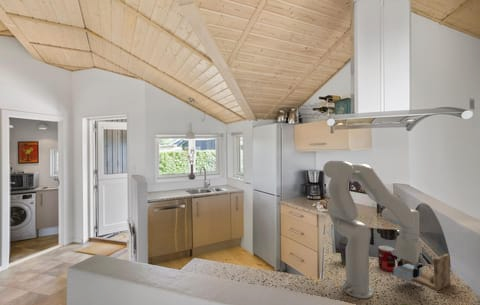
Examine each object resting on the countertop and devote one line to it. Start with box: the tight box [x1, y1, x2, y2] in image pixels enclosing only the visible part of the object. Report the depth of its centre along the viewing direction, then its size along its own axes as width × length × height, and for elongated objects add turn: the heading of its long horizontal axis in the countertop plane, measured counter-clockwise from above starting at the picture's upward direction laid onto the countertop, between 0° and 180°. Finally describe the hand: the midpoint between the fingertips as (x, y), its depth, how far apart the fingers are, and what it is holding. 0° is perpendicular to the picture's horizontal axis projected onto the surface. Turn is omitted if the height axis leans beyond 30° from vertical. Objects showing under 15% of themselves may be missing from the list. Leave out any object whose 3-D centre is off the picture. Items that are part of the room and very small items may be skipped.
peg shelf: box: [402, 253, 451, 292], centre depth 121 cm, size 12×16×14 cm
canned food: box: [377, 245, 396, 272], centre depth 133 cm, size 8×8×11 cm
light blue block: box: [392, 264, 423, 282], centre depth 115 cm, size 12×6×4 cm, turn 117°
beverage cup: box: [338, 235, 348, 266], centre depth 140 cm, size 7×7×20 cm
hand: (407, 273), depth 115 cm, fingers closed on light blue block, 6 cm apart
